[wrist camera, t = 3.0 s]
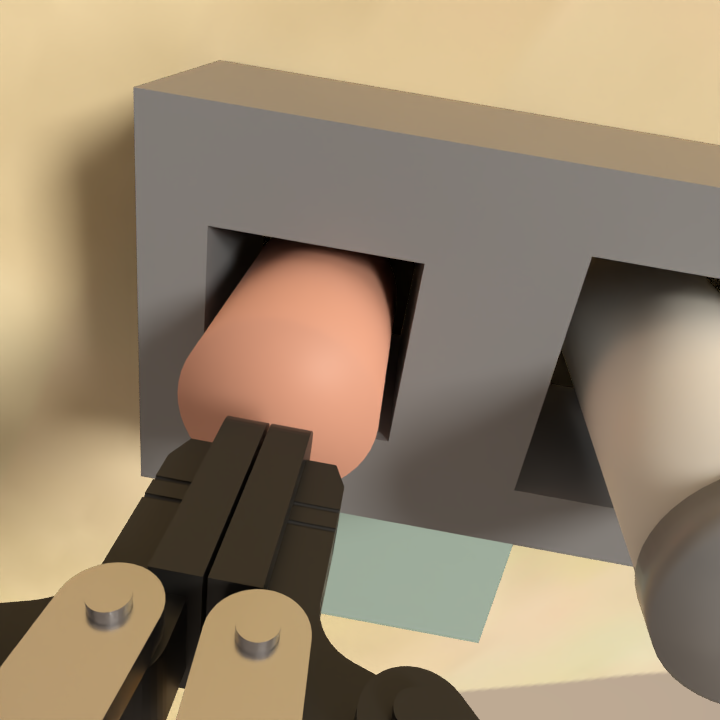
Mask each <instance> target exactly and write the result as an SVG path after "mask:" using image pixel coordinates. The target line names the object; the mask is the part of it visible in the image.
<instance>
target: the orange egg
mask: <svg viewBox="0 0 720 720" xmlns="http://www.w3.org/2000/svg"><path fill="white" fill-rule="evenodd" d="M396 299H397V286H396V280H395V276H394V272H393V269H392V267H391V265H390V263H389V261H388V259H387V257H383V256H377V255H372V254H366V253H360V252H355V251H349V250H343V249H337V248H332V247H326V246H320V245H315V244H309V243H303V242H298V241H292V240H286V239H280V238H275V237H273V238H271V239H270V240H269V242H268V243H267V244H266V245H265V246H264V247H263V249H262V250H261V252H260V253H259V255H258V256H257V258H256V259H255V260H254V262H253V263H252V265H251V266H250V268H249V269H248V271H247V272H246V273H245V275H244V276H243V278H242V279H241V281H240V282H239V284H238V285H237V286H236V288H235V289H234V291H233V292H232V294H231V295H230V297H229V298H228V300H227V301H226V302H225V304H224V305H223V307H222V308H221V310H220V311H219V313H218V314H217V315H216V317H215V318H214V320H213V321H212V323H211V324H210V326H209V327H208V328H207V330H206V331H205V333H204V334H203V336H202V337H201V339H200V340H199V341H198V343H197V344H196V346H195V347H194V349H193V350H192V352H191V353H190V355H189V356H188V358H187V359H186V361H185V363H184V366H183V368H182V370H181V374H180V378H179V382H178V392H177V393H178V405H179V410H180V415H181V418H182V420H183V423H184V426H185V428H186V430H187V432H188V434H189V436H190V437H191V438H192V439H197V440H203V441H208V442H213V441H214V439H215V437H216V435H217V433H218V431H219V429H220V427H221V425H222V423H223V421H224V420H225V418H226V417H227V416H233V417H239V418H244V419H249V420H255V421H260V422H266V423H269V424H270V425H271V424H277V425H283V426H288V427H294V428H299V429H304V430H310V431H313V440H312V447H311V455H310V460H311V461H316V462H322V463H327V464H332V465H336V466H337V468H338V471H339V474H340V476H341V478H343V477H344V476H346V475H348V474H349V473H350V472H351V471H353V470H354V469H355V468H356V467H357V466H358V465H359V464H360V463H361V462H362V461H363V460H364V459H365V457H366V456H367V454H368V453H369V451H370V450H371V447H372V445H373V443H374V441H375V438H376V434H377V431H378V426H379V419H380V412H381V405H382V398H383V391H384V384H385V377H386V370H387V363H388V356H389V349H390V342H391V335H392V328H393V321H394V314H395V307H396Z"/></svg>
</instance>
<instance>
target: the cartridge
mask: <svg viewBox="0 0 720 720" xmlns="http://www.w3.org/2000/svg"><path fill="white" fill-rule="evenodd" d="M561 350H562V353H563V356H564V359H565V362H566V365H567V368H568V371H569V374H570V377H571V380H572V383H573V386H574V389H575V392H576V395H577V398H578V401H579V404H580V407H581V410H582V413H583V416H584V419H585V422H586V425H587V428H588V431H589V434H590V437H591V440H592V443H593V446H594V449H595V452H596V455H597V458H598V461H599V464H600V467H601V470H602V474H603V477H604V480H605V483H606V486H607V489H608V492H609V495H610V498H611V501H612V504H613V507H614V510H615V513H616V516H617V519H618V522H619V525H620V528H621V531H622V534H623V537H624V540H625V543H626V546H627V549H628V552H629V555H630V558H631V561H632V564H633V567H634V570H635V588H636V593H637V598H638V601H639V604H640V607H641V610H642V613H643V616H644V619H645V623H646V626H647V629H648V632H649V635H650V638H651V641H652V644H653V647H654V649H655V652H656V654H657V657H658V658H659V660H660V662H661V663H662V665H663V666H664V668H665V669H666V670H667V671H668V672H669V673H670V674H671V675H672V677H674V678H675V679H676V680H677V681H678V682H680V683H681V684H682V685H683V686H685V687H686V688H688V689H689V690H691V691H693V692H694V693H696V694H698V695H700V696H702V697H704V698H706V699H709V700H711V701H713V702H717V703H719V704H720V293H719V292H718V290H717V289H716V288H715V287H714V286H713V285H712V284H711V283H710V282H709V281H708V280H707V278H706V277H705V276H701V275H696V274H690V273H684V272H678V271H673V270H667V269H661V268H656V267H650V266H644V265H638V264H633V263H627V262H621V261H615V260H610V259H604V258H598V257H592V258H591V261H590V264H589V267H588V270H587V273H586V276H585V279H584V282H583V285H582V288H581V291H580V294H579V297H578V300H577V303H576V306H575V309H574V312H573V315H572V318H571V321H570V324H569V327H568V330H567V333H566V336H565V339H564V342H563V345H562V348H561Z"/></svg>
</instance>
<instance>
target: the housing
mask: <svg viewBox="0 0 720 720" xmlns="http://www.w3.org/2000/svg"><path fill="white" fill-rule="evenodd" d="M133 88H134V138H135V189H136V239H137V290H138V340H139V391H140V441H141V476H144V477H149V478H155V477H156V474H157V472H158V471H159V469H160V467H161V466H162V464H163V462H164V461H165V459H166V457H167V456H168V454H170V453H171V452H172V451H174V450H175V449H177V448H178V447H180V446H181V445H183V444H184V443H185V442H187V441H188V440H190V439H191V437H190V436H189V434H188V432H187V430H186V428H185V426H184V423H183V420H182V418H181V415H180V410H179V405H178V393H177V392H178V382H179V378H180V374H181V370H182V368H183V366H184V363H185V361H186V359H187V358H188V356H189V355H190V353H191V352H192V350H193V349H194V347H195V346H196V344H197V343H198V341H199V340H200V339H201V337H202V336H203V334H204V333H205V331H206V330H207V328H208V327H209V326H210V324H211V323H212V321H213V320H214V318H215V317H216V315H217V314H218V313H219V311H220V310H221V308H222V307H223V305H224V304H225V302H226V301H227V300H228V298H229V297H230V295H231V294H232V292H233V291H234V289H235V288H236V286H237V285H238V284H239V282H240V281H241V279H242V278H243V276H244V275H245V273H246V272H247V271H248V269H249V268H250V266H251V265H252V263H253V262H254V260H255V259H256V258H257V256H258V255H259V253H260V252H261V250H262V248H263V236H269V237H275V238H280V239H286V240H292V241H298V242H303V243H309V244H315V245H320V246H326V247H332V248H337V249H343V250H349V251H355V252H360V253H366V254H372V255H377V256H383V257H389V258H394V259H400V260H406V261H411V262H415V266H414V271H413V276H412V281H411V286H410V291H409V296H408V301H407V306H406V311H405V316H404V321H403V326H402V332H401V335H397V334H392V335H391V342H390V349H389V356H388V363H387V370H386V377H385V384H384V391H383V398H382V405H381V412H380V419H379V426H378V431H377V434H376V438H375V441H374V443H373V445H372V447H371V450H370V451H369V453H368V454H367V456H366V457H365V459H364V460H363V461H362V462H361V463H360V464H359V465H358V466H357V467H356V468H355V469H354V470H353V471H351V472H350V473H349V474H348V475H346V476H344V477H343V478H341V479H342V482H343V485H344V492H343V498H342V504H341V510H340V513H345V514H350V515H355V516H361V517H366V518H372V519H377V520H383V521H388V522H393V523H399V524H404V525H410V526H415V527H421V528H426V529H431V530H437V531H442V532H448V533H453V534H459V535H464V536H469V537H475V538H480V539H486V540H491V541H497V542H502V543H507V544H513V545H518V546H524V547H529V548H535V549H540V550H545V551H551V552H556V553H562V554H567V555H573V556H578V557H584V558H589V559H594V560H600V561H605V562H611V563H616V564H622V565H627V566H632V567H633V564H632V561H631V558H630V555H629V552H628V549H627V546H626V543H625V540H624V537H623V534H622V531H621V528H620V525H619V522H618V519H617V516H616V513H615V510H614V507H613V504H612V501H611V498H610V495H609V492H608V489H607V486H606V483H605V480H604V477H603V474H602V470H601V467H600V464H599V461H598V458H597V455H596V452H595V449H594V446H593V443H592V440H591V437H590V434H589V431H588V428H587V425H586V422H585V419H584V416H583V413H582V410H581V407H580V404H579V401H578V398H577V395H576V392H575V389H574V388H572V387H566V386H561V385H555V384H550V381H551V378H552V375H553V372H554V369H555V366H556V363H557V360H558V357H559V354H560V351H561V348H562V345H563V342H564V339H565V336H566V333H567V330H568V327H569V324H570V321H571V318H572V315H573V312H574V309H575V306H576V303H577V300H578V297H579V294H580V291H581V288H582V285H583V282H584V279H585V276H586V273H587V270H588V267H589V264H590V261H591V258H592V257H598V258H604V259H610V260H615V261H621V262H627V263H633V264H638V265H644V266H650V267H656V268H661V269H667V270H673V271H678V272H684V273H690V274H696V275H701V276H707V277H713V278H719V279H720V145H714V144H709V143H703V142H697V141H691V140H685V139H679V138H673V137H667V136H662V135H656V134H650V133H644V132H638V131H632V130H626V129H620V128H615V127H609V126H603V125H597V124H591V123H585V122H579V121H573V120H567V119H562V118H556V117H550V116H544V115H538V114H532V113H526V112H520V111H515V110H509V109H503V108H497V107H491V106H485V105H479V104H473V103H468V102H462V101H456V100H450V99H444V98H438V97H432V96H426V95H421V94H415V93H409V92H403V91H397V90H391V89H385V88H379V87H374V86H368V85H362V84H356V83H350V82H344V81H338V80H332V79H327V78H321V77H315V76H309V75H303V74H297V73H291V72H285V71H280V70H274V69H268V68H262V67H256V66H250V65H244V64H238V63H233V62H227V61H221V60H219V61H216V62H213V63H209V64H206V65H203V66H200V67H197V68H193V69H190V70H187V71H184V72H180V73H177V74H174V75H171V76H168V77H164V78H161V79H158V80H155V81H152V82H148V83H145V84H142V85H139V86H136V87H133Z"/></svg>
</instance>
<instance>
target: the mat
mask: <svg viewBox="0 0 720 720" xmlns="http://www.w3.org/2000/svg"><path fill="white" fill-rule="evenodd" d="M512 546H513V544H507V543H502V542H497V541H491V540H486V539H480V538H475V537H469V536H464V535H459V534H453V533H448V532H442V531H437V530H431V529H426V528H421V527H415V526H410V525H404V524H399V523H393V522H388V521H383V520H377V519H372V518H366V517H361V516H355V515H350V514H345V513H340V516H339V522H338V528H337V534H336V539H335V545H334V551H333V556H332V561H331V566H330V571H329V576H328V581H327V586H326V591H325V596H324V601H323V606H322V611H321V613H322V614H327V615H332V616H338V617H343V618H348V619H354V620H359V621H364V622H370V623H375V624H380V625H386V626H391V627H396V628H402V629H407V630H412V631H418V632H423V633H428V634H434V635H439V636H444V637H450V638H455V639H460V640H466V641H471V642H476V643H479V640H480V637H481V634H482V631H483V628H484V626H485V623H486V620H487V617H488V614H489V611H490V608H491V606H492V603H493V600H494V597H495V594H496V591H497V588H498V586H499V583H500V580H501V577H502V574H503V571H504V568H505V566H506V563H507V560H508V557H509V554H510V551H511V548H512Z"/></svg>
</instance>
